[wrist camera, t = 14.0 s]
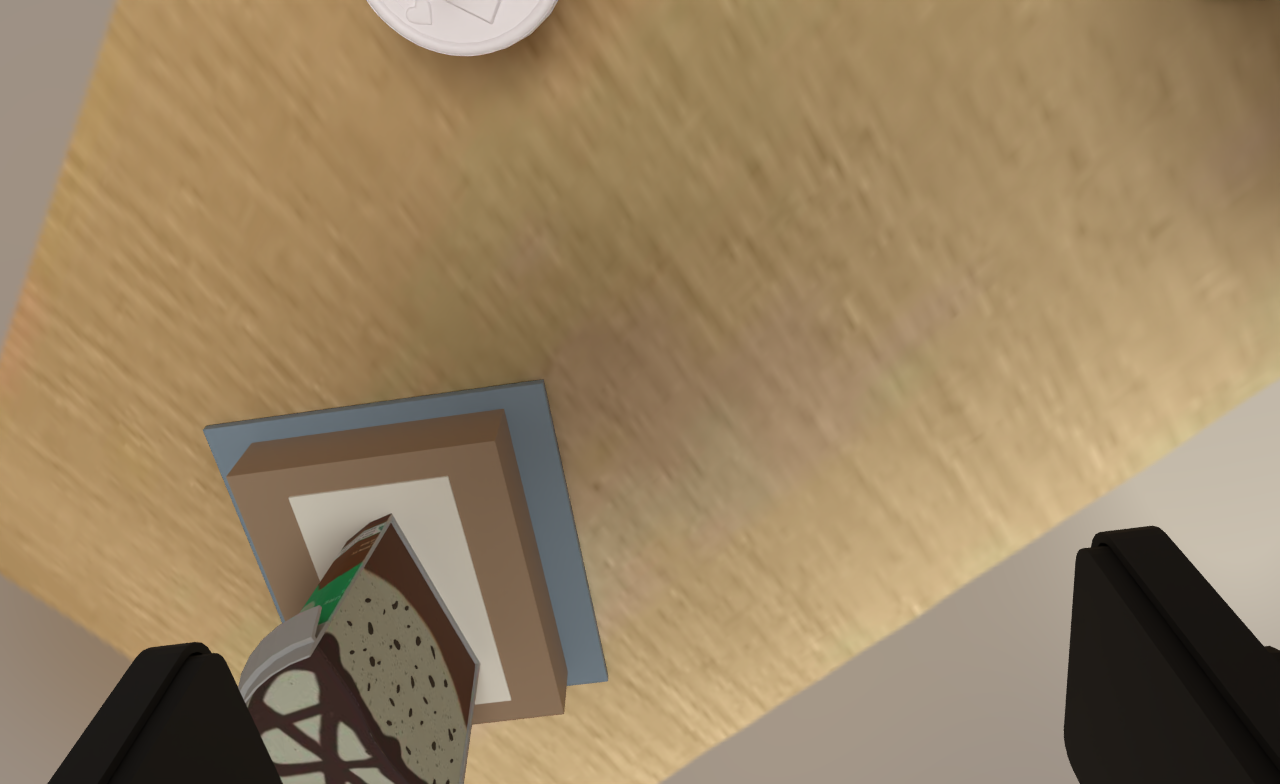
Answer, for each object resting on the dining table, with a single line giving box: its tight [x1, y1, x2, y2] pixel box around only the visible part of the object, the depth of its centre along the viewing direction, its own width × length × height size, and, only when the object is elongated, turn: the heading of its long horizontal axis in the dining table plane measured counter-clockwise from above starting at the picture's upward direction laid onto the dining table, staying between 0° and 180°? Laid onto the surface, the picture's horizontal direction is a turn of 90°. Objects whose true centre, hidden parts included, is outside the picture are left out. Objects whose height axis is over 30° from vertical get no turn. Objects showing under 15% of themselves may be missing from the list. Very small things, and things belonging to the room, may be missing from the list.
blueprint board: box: [203, 380, 608, 724], centre depth 45 cm, size 16×18×4 cm
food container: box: [238, 513, 480, 784], centre depth 39 cm, size 12×6×10 cm, turn 20°
